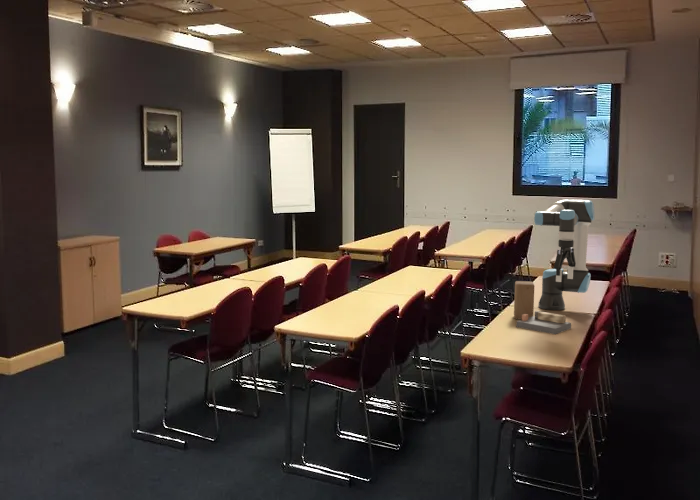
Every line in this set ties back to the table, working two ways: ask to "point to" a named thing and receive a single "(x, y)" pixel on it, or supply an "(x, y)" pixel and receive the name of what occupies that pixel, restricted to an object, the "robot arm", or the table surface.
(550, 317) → the folding leg
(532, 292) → the wooden block
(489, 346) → the table surface
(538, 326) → the stool seat
